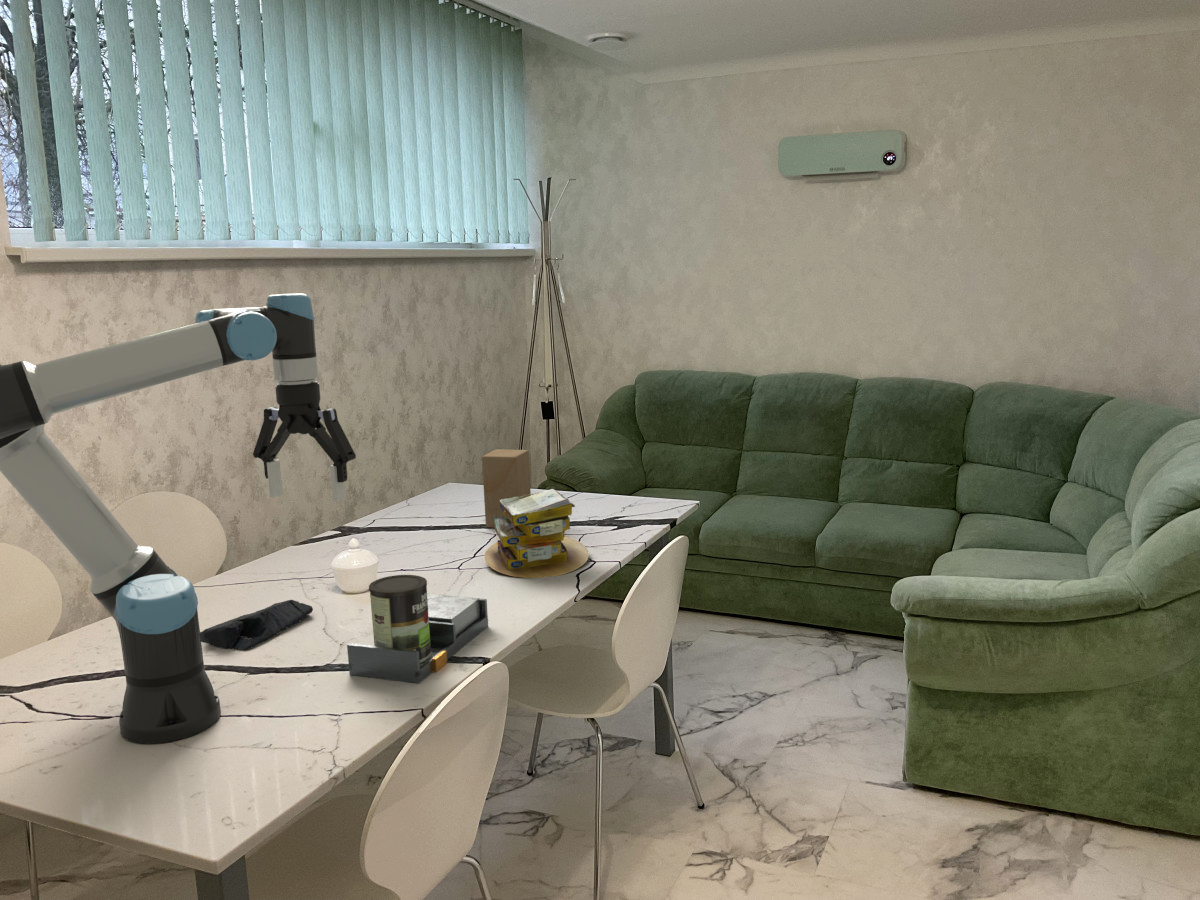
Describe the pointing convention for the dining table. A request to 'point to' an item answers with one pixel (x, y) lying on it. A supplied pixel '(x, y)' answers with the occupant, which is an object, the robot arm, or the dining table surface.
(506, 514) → the stacked yellow boxes
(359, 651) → the rack
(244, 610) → the dining table surface
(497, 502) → the wooden block
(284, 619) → the black pouch
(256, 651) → the dining table surface
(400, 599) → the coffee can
